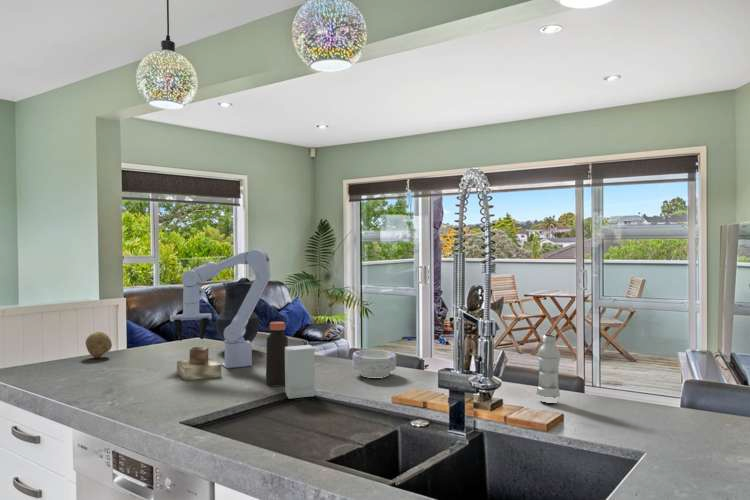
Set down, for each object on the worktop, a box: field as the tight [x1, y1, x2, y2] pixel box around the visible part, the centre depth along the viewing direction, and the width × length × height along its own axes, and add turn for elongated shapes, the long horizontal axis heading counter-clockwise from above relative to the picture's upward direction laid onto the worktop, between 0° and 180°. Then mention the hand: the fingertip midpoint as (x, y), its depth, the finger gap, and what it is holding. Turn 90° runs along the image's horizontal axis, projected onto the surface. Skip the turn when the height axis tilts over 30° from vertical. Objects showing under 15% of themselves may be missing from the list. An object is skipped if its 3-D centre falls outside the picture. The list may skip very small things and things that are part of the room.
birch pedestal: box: [176, 357, 222, 381], centre depth 196 cm, size 12×12×4 cm
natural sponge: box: [85, 331, 113, 359], centre depth 220 cm, size 9×9×10 cm
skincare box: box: [284, 344, 316, 400], centre depth 172 cm, size 8×6×15 cm
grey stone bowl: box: [352, 349, 397, 377], centre depth 199 cm, size 15×15×8 cm
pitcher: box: [215, 277, 260, 344], centre depth 241 cm, size 17×21×30 cm
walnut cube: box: [188, 346, 209, 365], centre depth 196 cm, size 5×5×5 cm
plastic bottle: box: [536, 334, 561, 398], centre depth 169 cm, size 6×7×20 cm
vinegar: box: [265, 321, 289, 386], centre depth 185 cm, size 7×7×20 cm
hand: (190, 339), depth 210 cm, fingers open, 7 cm apart
